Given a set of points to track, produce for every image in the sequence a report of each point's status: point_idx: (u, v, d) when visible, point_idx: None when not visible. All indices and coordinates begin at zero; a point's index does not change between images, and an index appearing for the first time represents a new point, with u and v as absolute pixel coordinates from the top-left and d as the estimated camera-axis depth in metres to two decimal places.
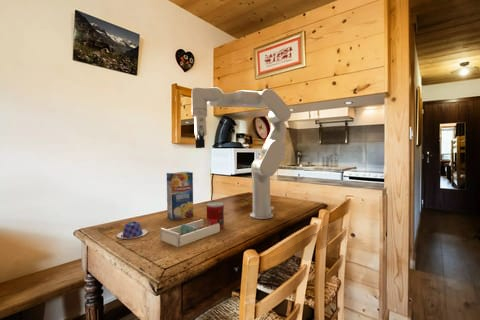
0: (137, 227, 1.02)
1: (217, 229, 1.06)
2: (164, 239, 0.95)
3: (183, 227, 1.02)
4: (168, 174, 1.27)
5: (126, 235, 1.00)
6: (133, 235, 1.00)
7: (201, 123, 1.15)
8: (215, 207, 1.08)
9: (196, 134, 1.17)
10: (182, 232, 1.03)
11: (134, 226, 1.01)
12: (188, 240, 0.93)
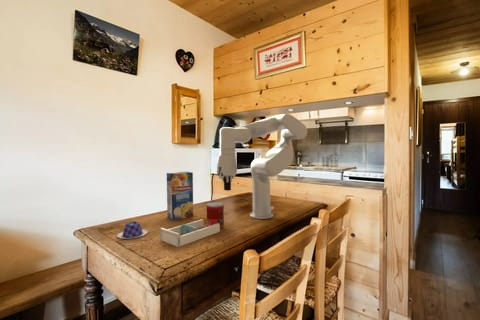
0: (137, 227, 1.02)
1: (217, 229, 1.06)
2: (164, 239, 0.95)
3: (183, 227, 1.02)
4: (168, 174, 1.27)
5: (126, 235, 1.00)
6: (133, 235, 1.00)
7: None
8: (215, 207, 1.08)
9: (234, 174, 1.20)
10: (182, 232, 1.03)
11: (134, 226, 1.01)
12: (188, 240, 0.93)
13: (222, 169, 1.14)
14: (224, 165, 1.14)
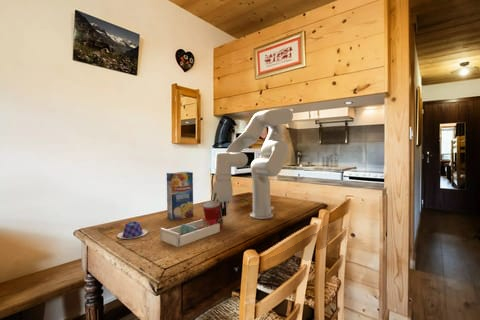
0: (136, 227, 1.02)
1: (217, 229, 1.06)
2: (164, 239, 0.95)
3: (183, 227, 1.02)
4: (168, 174, 1.27)
5: (125, 235, 1.00)
6: (132, 235, 1.00)
7: None
8: (211, 208, 1.07)
9: (230, 199, 1.18)
10: (182, 232, 1.03)
11: (133, 226, 1.01)
12: (188, 240, 0.93)
13: (217, 195, 1.12)
14: (219, 191, 1.12)
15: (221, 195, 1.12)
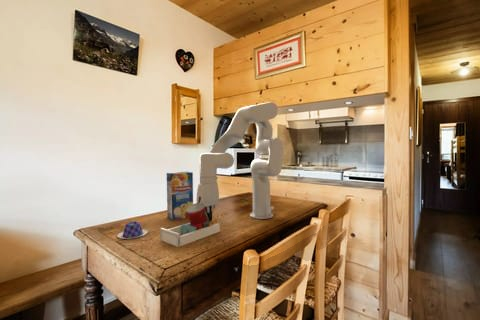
0: (136, 227, 1.02)
1: (217, 229, 1.06)
2: (164, 239, 0.95)
3: (183, 227, 1.02)
4: (168, 174, 1.27)
5: (125, 235, 1.00)
6: (132, 235, 1.00)
7: None
8: (195, 212, 1.00)
9: (216, 203, 1.10)
10: (182, 232, 1.03)
11: (133, 226, 1.01)
12: (188, 240, 0.93)
13: (202, 199, 1.04)
14: (204, 195, 1.04)
15: (206, 199, 1.05)
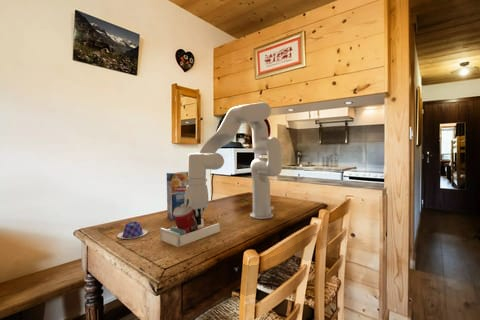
0: (136, 227, 1.02)
1: (217, 229, 1.06)
2: (164, 239, 0.95)
3: (173, 230, 0.98)
4: (168, 174, 1.27)
5: (125, 235, 1.00)
6: (131, 235, 1.00)
7: None
8: (182, 216, 0.95)
9: (205, 206, 1.05)
10: None
11: (133, 226, 1.01)
12: (188, 240, 0.93)
13: (190, 202, 0.99)
14: (192, 197, 0.99)
15: (194, 202, 1.00)
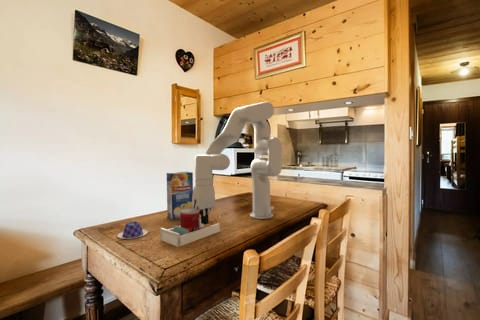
0: (136, 228, 1.02)
1: (217, 229, 1.06)
2: (164, 239, 0.95)
3: (176, 229, 0.99)
4: (168, 174, 1.27)
5: (125, 235, 1.00)
6: (131, 235, 1.00)
7: None
8: (189, 214, 0.97)
9: (212, 205, 1.08)
10: None
11: (133, 226, 1.01)
12: (188, 240, 0.93)
13: (197, 202, 1.02)
14: (199, 198, 1.02)
15: (201, 202, 1.03)
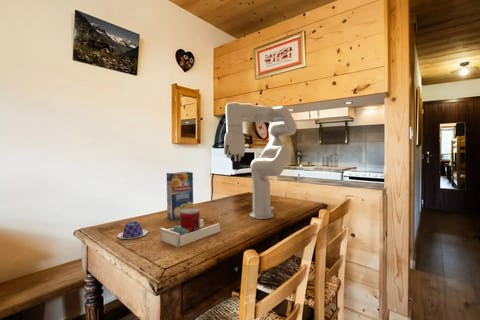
0: (136, 228, 1.01)
1: (217, 229, 1.06)
2: (164, 239, 0.95)
3: (176, 229, 0.99)
4: (168, 174, 1.27)
5: (125, 235, 1.00)
6: (131, 235, 1.00)
7: None
8: (189, 214, 0.97)
9: (243, 152, 1.13)
10: None
11: (132, 226, 1.01)
12: (188, 240, 0.93)
13: (229, 147, 1.07)
14: (231, 143, 1.07)
15: (233, 147, 1.08)
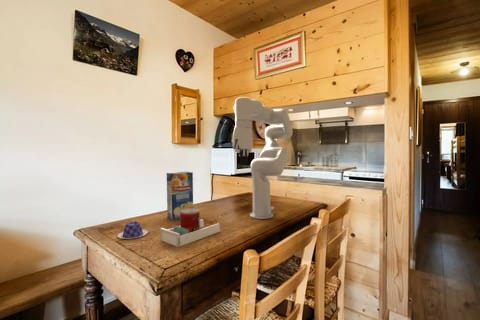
0: (135, 228, 1.01)
1: (217, 229, 1.06)
2: (164, 239, 0.95)
3: (176, 229, 0.99)
4: (168, 174, 1.27)
5: (124, 235, 1.00)
6: (130, 235, 1.00)
7: None
8: (189, 214, 0.97)
9: (251, 148, 1.13)
10: None
11: (132, 226, 1.01)
12: (188, 240, 0.93)
13: (238, 141, 1.07)
14: (240, 137, 1.07)
15: (242, 141, 1.08)
